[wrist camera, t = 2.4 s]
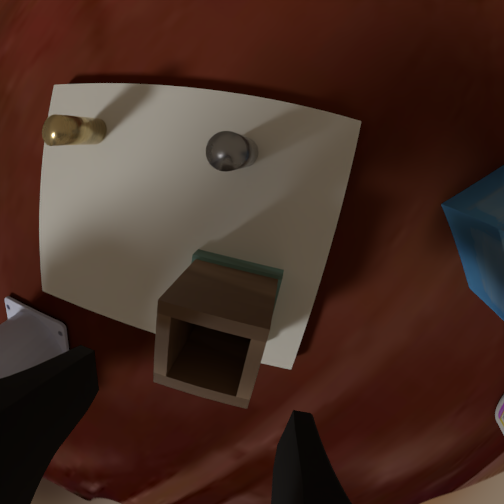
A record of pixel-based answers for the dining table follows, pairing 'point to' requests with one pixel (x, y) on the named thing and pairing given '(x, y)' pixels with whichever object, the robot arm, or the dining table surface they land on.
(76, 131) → the brass pin
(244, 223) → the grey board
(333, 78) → the dining table surface
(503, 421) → the supplement bottle
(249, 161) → the steel pin
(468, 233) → the perfume bottle
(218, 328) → the walnut sleeve
